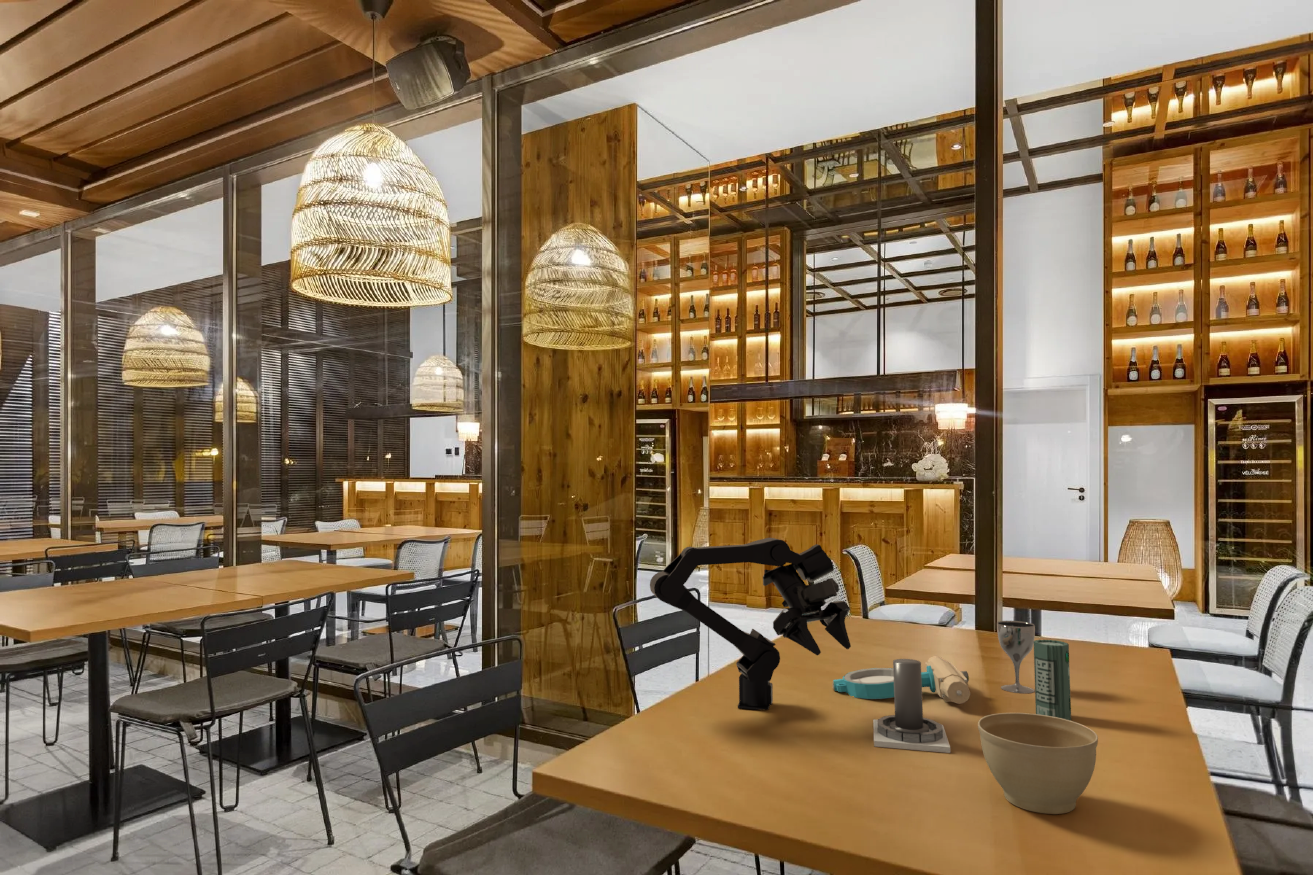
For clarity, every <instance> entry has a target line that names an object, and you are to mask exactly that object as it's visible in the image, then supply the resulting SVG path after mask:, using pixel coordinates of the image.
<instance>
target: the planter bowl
mask: <svg viewBox="0 0 1313 875" xmlns="http://www.w3.org/2000/svg"><path fill="white" fill-rule="evenodd" d="M977 729H978V732H979V736H980V746H981V750H982V754H983V757H984V760H985V763H986V764H987V767H988V769H989V770H990V773H991V774H992V776H993V777H994V779H995V780H996V782H997V783H998V784H999V786H1000V787H1001V789H1002V791H1003V795H1004V798H1005V799H1006V800H1007V801H1008V802H1009V803H1010V804H1012V805H1014V806H1015V807H1017V808H1021V809H1023V810H1025V811H1028V812H1029V811H1030V812H1033V813H1038V814H1047V815H1058V814H1059V815H1060V814H1066V813H1071V811H1073V810H1075V808H1076V805H1077V800H1078V798H1079V797H1080V796H1082V794H1083V793H1084V791H1085V790H1086V789H1087V787H1088V785H1089V783H1090V781H1091V779H1092V777H1093V774H1094V771H1095V767H1096V761H1097V747H1098V743H1099V736H1098V734H1097V733H1096V732H1095V731H1094V730H1093V729H1091V728H1090V727H1087V726H1086V725H1084V724H1082V723H1079V722H1076V721H1073V720H1066V719H1062V718H1057V717H1052V716H1046V715H1038V714H1036V713H1028V712H1027V713H1026V712H1000V713H992V714H988V715H985V716H983V717H981V718H980V719H979V720H978V722H977Z"/></svg>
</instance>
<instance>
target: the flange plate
mask: <svg viewBox="0 0 1313 875" xmlns="http://www.w3.org/2000/svg"><path fill="white" fill-rule="evenodd" d="M872 721H873V723H872V725H873V728H872V729H873V747H879V748H890V749H900V750H911V751H923V752H924V751H925V752H933V753H947V754H951V745H950V743H949V739H948V736H947V733H946V729H945V727H944V724H941V723H940V722H937V721H935V720H933V719H930V718H927V717H923V723H924V724H926V725H928V726H929V732H923V733H913V732H903V731H899V730H895V729H891V728H890V723H891V722H893V721H895V714H892V715H885V716H882V717H879V718H877V719H874V718H873V720H872Z"/></svg>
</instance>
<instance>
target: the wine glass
mask: <svg viewBox="0 0 1313 875" xmlns="http://www.w3.org/2000/svg"><path fill="white" fill-rule="evenodd" d="M1035 627H1036V626H1035V624H1034V623H1032V622H1027V621H1021V620H1019V621H1018V620H999V621H997V622H996V630H997V633H996V634H997V639H998V642H999V645H1000V648H1001V649H1002V651H1004V652H1005V654H1006V655H1007V656H1008V657H1009V658H1010V660H1011V662H1012V665H1013V667H1014V668H1013V669H1014V674H1015V675H1014V676H1015V677H1014V678H1015V680H1014V681H1015V682H1014V683H1013V684H1005V685H1001V686H1000V689H1001V690H1003V691H1006V692H1009V693H1014V694H1032V693H1035V688H1031V687H1029V686H1025V685H1022V684H1021V683H1020V670H1021V669H1020V668H1021V664H1022V662H1023V660H1024V659H1025V658H1026V657H1027V656H1028V655H1029V654H1031V652H1032V650H1033V649H1034V641H1035V639H1036V638H1035V637H1036V636H1035V635H1036V633H1035V632H1036V628H1035Z"/></svg>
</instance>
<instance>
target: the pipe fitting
mask: <svg viewBox="0 0 1313 875" xmlns="http://www.w3.org/2000/svg"><path fill="white" fill-rule="evenodd" d="M892 668H893V673H894V697H893V699H894V715H895V721H893V722H891V723H890V728H891V729H895V730H899V731H903V732H913V733H923V732H929V726H928V725H926V724H924V723H923V718H924V712H923V710H924V709H923V689H922V688H923V687H922V679H921V672H922V662H921V661H920V660H917V659H912V658H911V659H910V658H896V659H893V661H892Z"/></svg>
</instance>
